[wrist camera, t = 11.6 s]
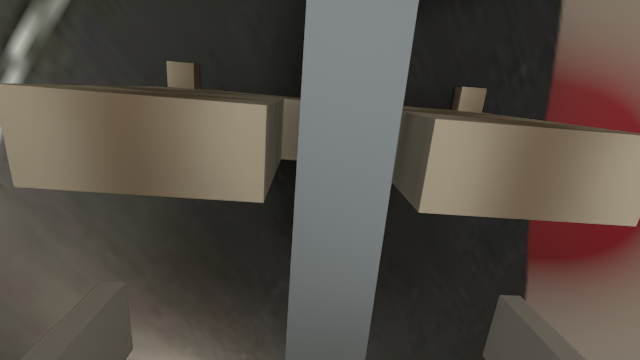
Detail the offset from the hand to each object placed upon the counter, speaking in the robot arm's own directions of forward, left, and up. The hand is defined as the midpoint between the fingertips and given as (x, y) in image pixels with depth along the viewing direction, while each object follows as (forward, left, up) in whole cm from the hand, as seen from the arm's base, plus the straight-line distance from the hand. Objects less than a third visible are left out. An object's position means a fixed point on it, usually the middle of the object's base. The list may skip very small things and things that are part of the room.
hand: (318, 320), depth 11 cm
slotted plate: (-4, +4, -12) cm, 13 cm away
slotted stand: (-4, +4, -12) cm, 13 cm away
